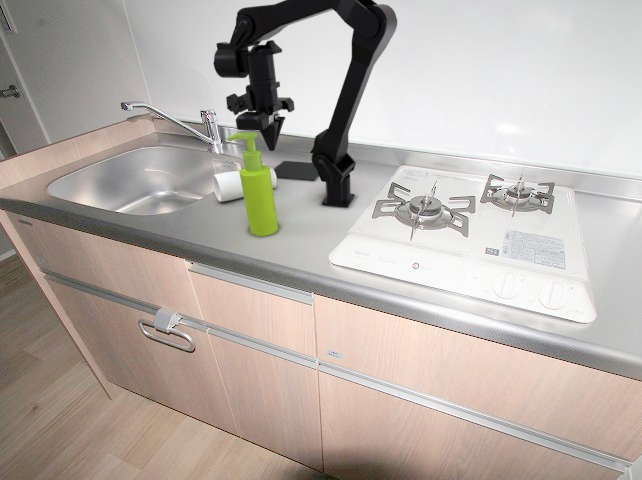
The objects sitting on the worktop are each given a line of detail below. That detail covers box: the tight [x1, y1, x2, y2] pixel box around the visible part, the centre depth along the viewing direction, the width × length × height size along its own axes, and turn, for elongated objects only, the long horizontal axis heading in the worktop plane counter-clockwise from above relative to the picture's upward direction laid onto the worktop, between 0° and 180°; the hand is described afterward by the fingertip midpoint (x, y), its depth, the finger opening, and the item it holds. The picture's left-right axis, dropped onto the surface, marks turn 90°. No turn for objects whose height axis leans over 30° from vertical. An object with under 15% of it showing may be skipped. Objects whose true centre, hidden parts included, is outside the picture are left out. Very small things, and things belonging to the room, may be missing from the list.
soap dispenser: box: [226, 131, 279, 237], centre depth 72 cm, size 6×7×20 cm
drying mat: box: [273, 160, 319, 182], centre depth 104 cm, size 12×14×1 cm
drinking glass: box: [211, 167, 278, 203], centre depth 91 cm, size 7×7×15 cm
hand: (272, 150), depth 87 cm, fingers closed
